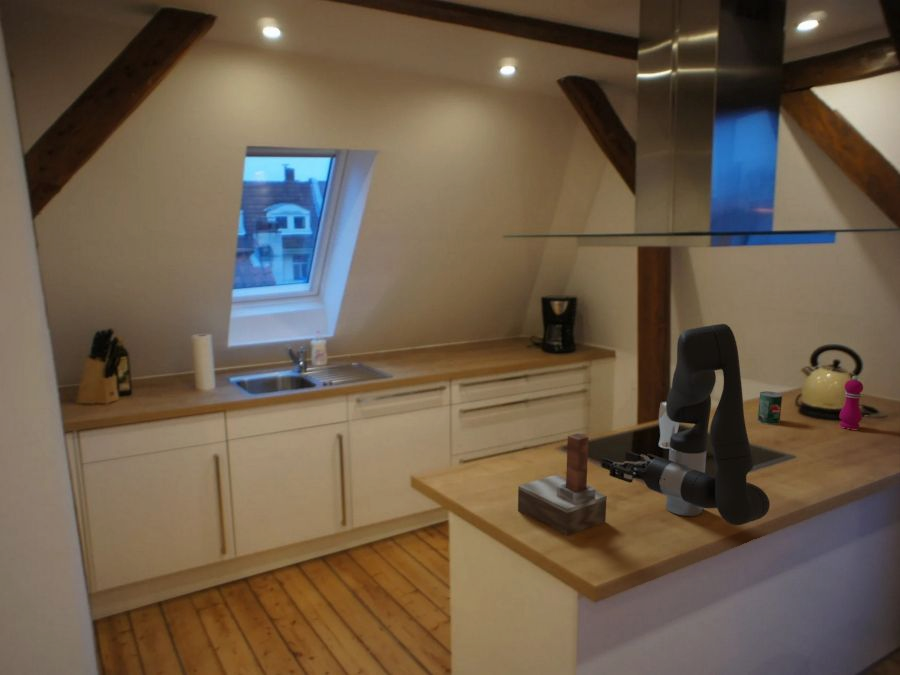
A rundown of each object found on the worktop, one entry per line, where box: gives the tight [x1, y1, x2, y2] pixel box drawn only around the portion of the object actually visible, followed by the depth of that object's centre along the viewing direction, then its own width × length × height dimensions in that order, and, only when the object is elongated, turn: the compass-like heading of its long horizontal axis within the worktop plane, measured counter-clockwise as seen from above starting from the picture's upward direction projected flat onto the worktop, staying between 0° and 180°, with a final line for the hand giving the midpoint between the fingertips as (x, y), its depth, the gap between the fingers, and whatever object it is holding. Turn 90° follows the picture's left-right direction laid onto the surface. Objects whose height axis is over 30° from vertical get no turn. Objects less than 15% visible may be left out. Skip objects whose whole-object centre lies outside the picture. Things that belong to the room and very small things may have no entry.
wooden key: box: [565, 433, 589, 492], centre depth 170 cm, size 4×4×16 cm
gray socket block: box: [517, 474, 607, 537], centre depth 176 cm, size 14×18×10 cm
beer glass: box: [658, 401, 680, 450], centre depth 231 cm, size 7×7×15 cm
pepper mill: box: [839, 375, 864, 429], centre depth 252 cm, size 7×7×20 cm
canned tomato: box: [757, 390, 783, 425], centre depth 260 cm, size 8×8×11 cm
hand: (614, 458), depth 159 cm, fingers open, 8 cm apart
